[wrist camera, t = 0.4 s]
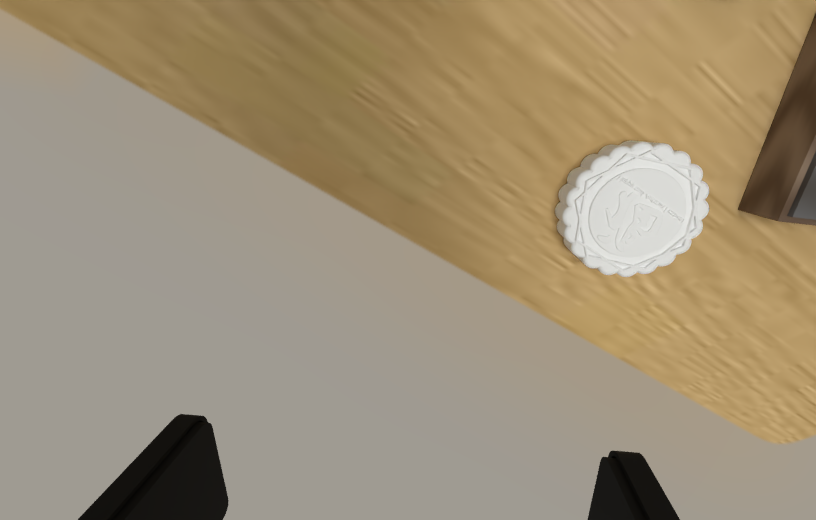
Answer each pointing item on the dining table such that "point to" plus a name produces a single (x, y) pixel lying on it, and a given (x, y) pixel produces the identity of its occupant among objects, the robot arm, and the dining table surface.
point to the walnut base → (789, 150)
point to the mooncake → (632, 207)
